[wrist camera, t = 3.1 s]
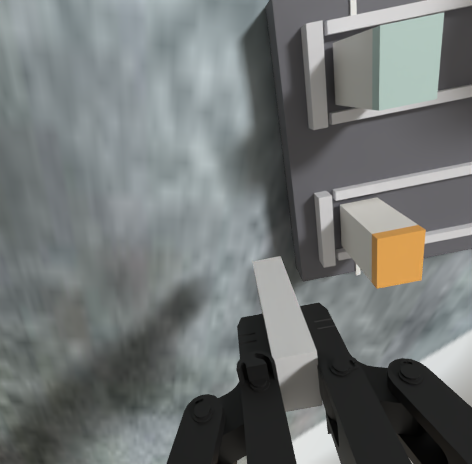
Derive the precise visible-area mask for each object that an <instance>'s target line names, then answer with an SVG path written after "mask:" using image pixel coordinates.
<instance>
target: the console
mask: <svg viewBox="0 0 472 464" xmlns="http://www.w3.org/2000/svg"><path fill="white" fill-rule="evenodd" d="M443 12H444V22H443V34H442V45H441V57H440V69H439V81H438V92H437V99H435V100H430V101H425V102H420V103H415V104H410V105H405V106H400V107H395V108H390V109H385V110H380V111H377V110H370V109H363V108H355V107H348V106H341V105H335V83H334V60H333V43H334V42H337V41H339V40H342V39H345V38H347V37H350V36H353V35H356V34H358V33H361V32H364V31H366V30H369V29H372V28H375V27H377V26H380V25H385V24H390V23H395V22H399V21H404V20H409V19H414V18H419V17H424V16H429V15H434V14H439V13H443ZM266 15H267V23H268V32H269V40H270V49H271V57H272V66H273V74H274V83H275V91H276V100H277V108H278V117H279V125H280V134H281V142H282V151H283V159H284V168H285V176H286V185H287V193H288V202H289V210H290V219H291V227H292V236H293V244H294V253H295V261H296V268H297V270H298V272H299V274H300V276H301V278H302V280H303V281H308V280H313V279H318V278H323V277H328V276H334V275H339V274H344V273H349V272H354V271H356V275H360V270H361V269H360V268H359V266H358V265H357V264H356V263H355V261H354V260H353V259H352V258H351V257H350V255H349V254H348V253H347V252H346V251H345V249H344V248H343V247H342V244H341V221H340V205H341V204H346V203H351V202H356V201H361V200H366V199H371V198H376V197H377V198H379V199H380V200H382V201H383V202H385V203H386V204H388V205H389V206H391V207H392V208H394V209H395V210H397V211H398V212H400V213H401V214H403V215H404V216H406V217H407V218H409V219H410V220H412V221H413V222H415V223H416V224H418V225H419V226H421V227H422V228H424V229H425V230H426V233H425V244H424V256H423V258H426V257H431V256H437V255H442V254H447V253H452V252H457V251H462V250H467V249H472V0H269V2H268V4H267V5H266Z"/></svg>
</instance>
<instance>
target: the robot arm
mask: <svg viewBox="0 0 472 464" xmlns="http://www.w3.org/2000/svg"><path fill="white" fill-rule="evenodd" d="M252 262H253V267H254V273H255V278H256V283H257V289H258V294H259V299H260V305H261V310H262V314H259V315H253V316H248V317H243V318H241V319H240V322H239V324H238V326H237V328H238V340H239V351H240V360H239V362H238V363H237V369H236V370H237V373H238V377H239V381H240V382H239V383H238V385H237V386H236V387H235V388H234V389H233V390H232V391H231V392H229V393H228V394H226V395H224V396H222V397H220V398H217V397H216V396H213V395H209V394H206V395H200V396H198V397H196V398H195V399H193V400H192V401H191V402H190V403H189V404H188V405H187V407H186V409H185V411H184V414H183V417H182V420H181V423H180V426H179V429H178V432H177V435H176V437H175V440H174V443H173V446H172V449H171V452H170V455H169V458H168V461H167V464H237V460H239V459H241V458H242V457H244V456H246V455H247V464H296V459H295V454H294V450H293V445H292V441H291V436H290V431H289V427H288V422H287V417H286V413H285V412H287V411H293V410H298V409H304V408H310V407H315V406H321V405H322V401H323V404H324V407H325V410H326V419H327V429H328V434H332V438H333V441H334V443H335V447H336V450H337V453H338V456H339V459H340V462H341V464H412V463H411V461H412V462H413V464H472V407H471V406H470V405H468V404H467V403H466V402H465V401H464V400H463V399H462V398H461V397H459V396H458V395H457V394H456V393H455V392H454V391H453V390H452V389H451V388H449V387H448V386H447V385H446V384H445V383H444V382H443V381H442V380H441V379H439V378H438V377H437V376H436V375H435V374H434V373H433V372H432V371H430V370H429V369H428V368H427V367H426V366H424V365H423V364H421V363H420V362H417V361H415V360H412V359H404V358H402V359H397V360H394V361H393V362H391V363H390V364H389V366H388V368H381V367H372V366H367V365H364V364H362V363H360V362H358V361H357V360H356V359H355V358H353V357H352V356H351V355H350V353H349V352H348V350H347V348H346V346H345V344H344V342H343V340H342V338H341V336H340V334H339V332H338V330H337V328H336V327H335V324H334V322H333V320H332V318H331V316H330V314H329V312H328V310H327V309H326V308H325V307H324V306H322V305H321V304H320V303H314V304H309V305H304V306H299V303H298V301H297V298H296V295H295V293H294V290H293V288H292V285H291V282H290V280H289V277H288V274H287V272H286V269H285V267H284V264H283V261H282V259H281V256H279V257H273V258H268V259H263V260H257V261H252ZM408 457H409V458H408ZM409 459H410V460H411V461H410V460H409Z"/></svg>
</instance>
